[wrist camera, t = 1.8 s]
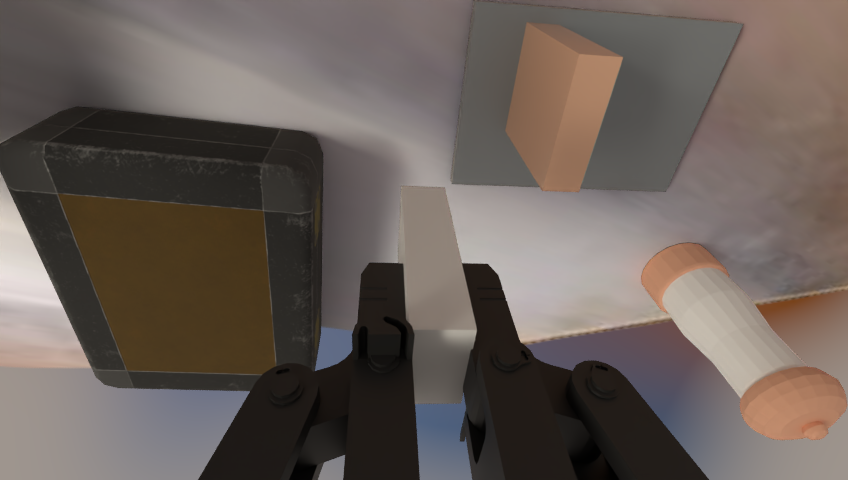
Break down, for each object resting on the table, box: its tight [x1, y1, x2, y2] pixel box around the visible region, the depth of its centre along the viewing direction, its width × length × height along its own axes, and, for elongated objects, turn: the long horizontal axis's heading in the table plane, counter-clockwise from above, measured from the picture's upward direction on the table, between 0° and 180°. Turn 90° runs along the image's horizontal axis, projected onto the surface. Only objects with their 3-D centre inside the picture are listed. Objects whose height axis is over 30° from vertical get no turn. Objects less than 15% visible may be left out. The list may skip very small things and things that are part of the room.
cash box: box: [0, 107, 323, 391], centre depth 37 cm, size 25×20×8 cm
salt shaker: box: [641, 243, 847, 440], centre depth 39 cm, size 7×7×19 cm
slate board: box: [451, 0, 743, 192], centre depth 34 cm, size 20×14×1 cm
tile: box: [505, 22, 623, 192], centre depth 28 cm, size 3×8×10 cm, turn 175°
